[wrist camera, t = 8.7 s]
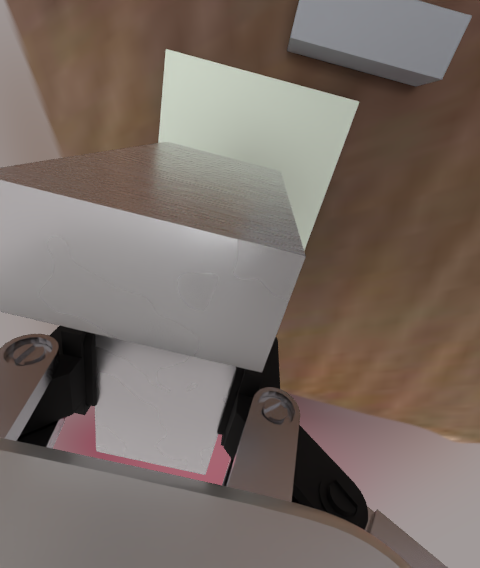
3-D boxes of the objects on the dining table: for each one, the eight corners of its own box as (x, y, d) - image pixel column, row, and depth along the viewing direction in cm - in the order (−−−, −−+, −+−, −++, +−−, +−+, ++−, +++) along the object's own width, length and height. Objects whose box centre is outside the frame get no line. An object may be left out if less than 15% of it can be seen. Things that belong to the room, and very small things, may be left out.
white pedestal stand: (280, 171, 10) (305, 256, 3) (223, 372, 15) (188, 566, 8) (167, 141, 10) (-31, 171, 3) (147, 354, 15) (50, 538, 8)
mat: (357, 102, 18) (359, 101, 18) (281, 308, 26) (281, 311, 25) (168, 50, 18) (165, 49, 17) (149, 276, 25) (147, 279, 25)
